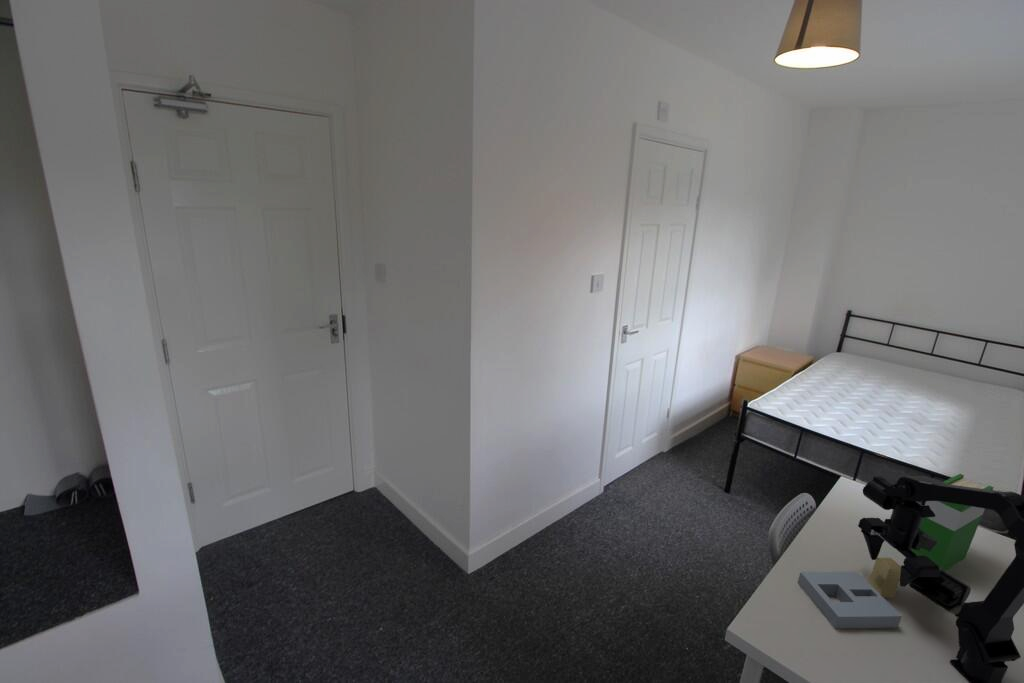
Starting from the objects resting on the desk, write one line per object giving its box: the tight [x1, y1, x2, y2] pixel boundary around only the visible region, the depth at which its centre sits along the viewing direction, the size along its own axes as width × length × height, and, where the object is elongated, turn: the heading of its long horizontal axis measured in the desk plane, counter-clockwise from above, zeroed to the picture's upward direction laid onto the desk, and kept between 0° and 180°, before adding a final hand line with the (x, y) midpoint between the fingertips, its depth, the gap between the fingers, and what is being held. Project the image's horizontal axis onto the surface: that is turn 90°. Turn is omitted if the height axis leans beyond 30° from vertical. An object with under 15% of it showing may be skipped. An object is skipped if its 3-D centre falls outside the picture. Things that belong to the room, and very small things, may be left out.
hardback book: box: [911, 473, 994, 572], centre depth 134 cm, size 18×7×24 cm, turn 117°
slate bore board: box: [797, 571, 902, 629], centre depth 119 cm, size 14×16×4 cm
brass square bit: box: [867, 557, 901, 598], centre depth 123 cm, size 4×4×9 cm
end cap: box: [908, 570, 972, 612], centre depth 123 cm, size 10×7×7 cm
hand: (887, 572), depth 122 cm, fingers open, 9 cm apart
